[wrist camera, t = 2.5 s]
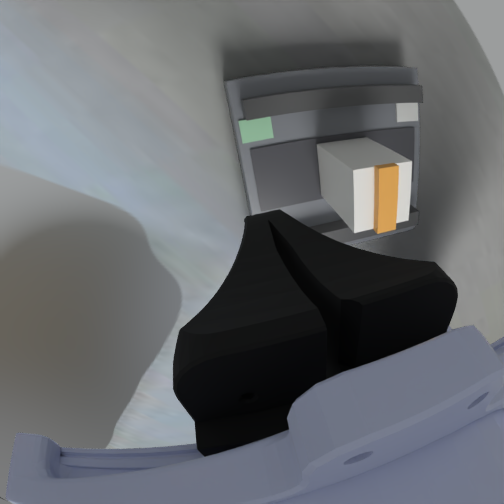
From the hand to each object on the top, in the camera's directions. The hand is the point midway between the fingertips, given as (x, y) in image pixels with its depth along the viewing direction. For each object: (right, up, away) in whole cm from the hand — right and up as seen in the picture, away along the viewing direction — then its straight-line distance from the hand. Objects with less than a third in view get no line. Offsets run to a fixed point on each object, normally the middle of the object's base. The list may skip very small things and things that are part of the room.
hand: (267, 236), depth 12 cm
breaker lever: (+4, +4, +5) cm, 8 cm away
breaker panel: (+4, +5, +7) cm, 10 cm away
